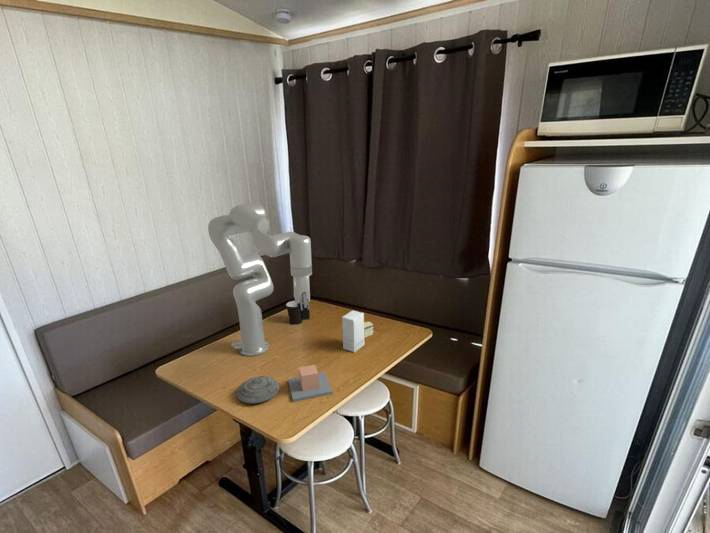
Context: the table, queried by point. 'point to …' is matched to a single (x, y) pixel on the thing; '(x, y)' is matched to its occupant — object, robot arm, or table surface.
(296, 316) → the coffee mug
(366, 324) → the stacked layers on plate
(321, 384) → the slate mat
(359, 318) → the skincare box
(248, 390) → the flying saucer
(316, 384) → the terracotta cube
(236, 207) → the robot arm
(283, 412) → the table surface
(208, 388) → the table surface
